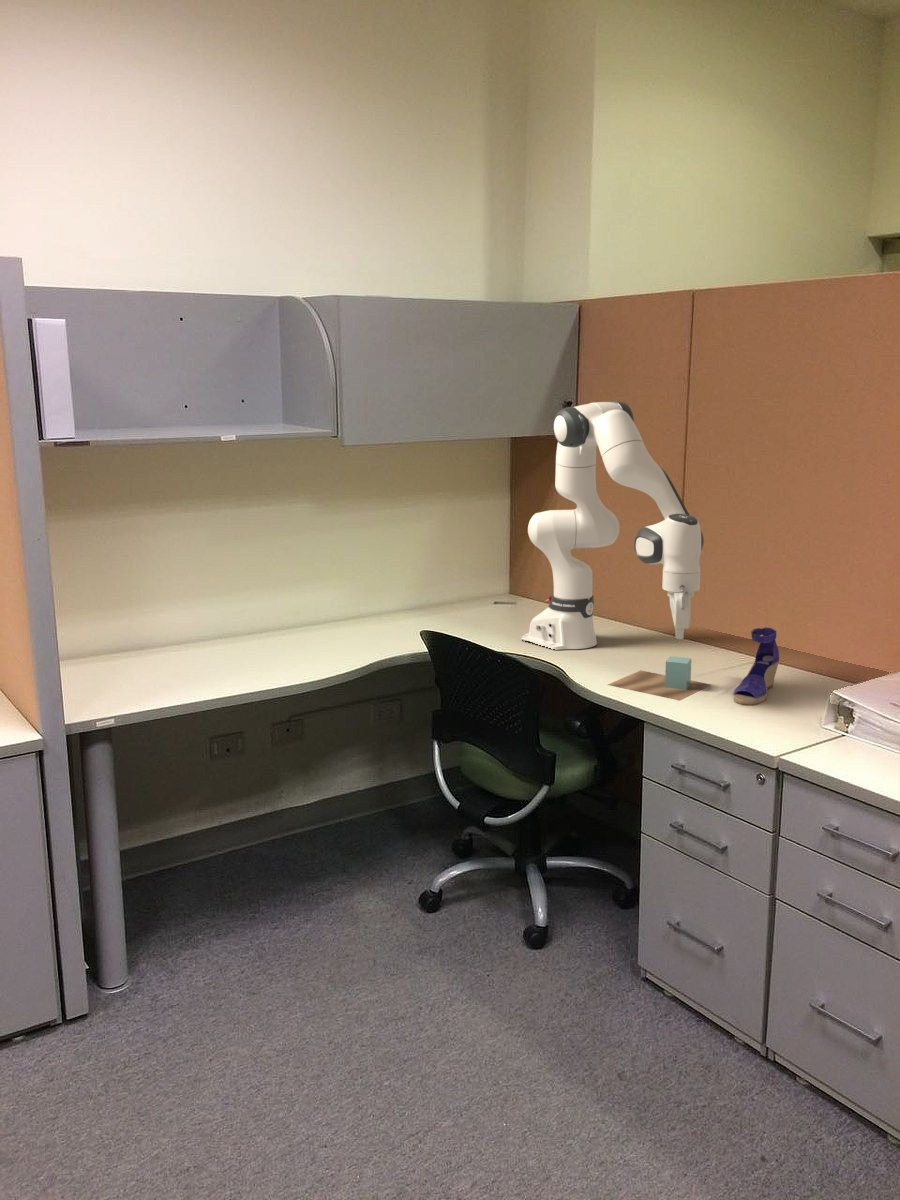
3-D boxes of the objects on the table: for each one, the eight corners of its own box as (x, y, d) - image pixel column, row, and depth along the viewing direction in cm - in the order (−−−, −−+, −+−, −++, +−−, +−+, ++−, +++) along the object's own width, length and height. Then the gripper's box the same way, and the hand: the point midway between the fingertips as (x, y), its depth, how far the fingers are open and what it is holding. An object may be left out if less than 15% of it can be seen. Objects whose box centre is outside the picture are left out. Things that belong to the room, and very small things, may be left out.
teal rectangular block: (664, 687, 246) (665, 661, 244) (669, 681, 250) (670, 656, 249) (686, 689, 244) (687, 663, 242) (690, 683, 248) (691, 658, 247)
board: (607, 687, 249) (607, 684, 249) (640, 673, 260) (640, 670, 260) (679, 703, 236) (679, 700, 236) (711, 687, 247) (711, 684, 247)
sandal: (720, 700, 238) (723, 639, 235) (760, 681, 252) (763, 624, 248) (752, 707, 232) (755, 645, 229) (791, 688, 246) (794, 629, 243)
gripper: (697, 591, 231) (695, 649, 234) (691, 574, 250) (689, 628, 253) (669, 590, 232) (667, 648, 235) (666, 574, 251) (664, 627, 254)
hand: (679, 637), depth 244 cm, fingers closed
